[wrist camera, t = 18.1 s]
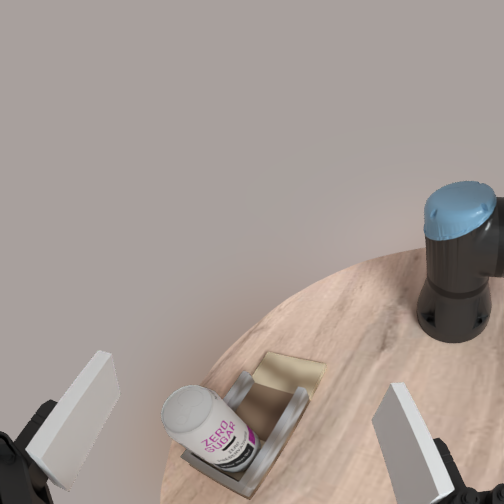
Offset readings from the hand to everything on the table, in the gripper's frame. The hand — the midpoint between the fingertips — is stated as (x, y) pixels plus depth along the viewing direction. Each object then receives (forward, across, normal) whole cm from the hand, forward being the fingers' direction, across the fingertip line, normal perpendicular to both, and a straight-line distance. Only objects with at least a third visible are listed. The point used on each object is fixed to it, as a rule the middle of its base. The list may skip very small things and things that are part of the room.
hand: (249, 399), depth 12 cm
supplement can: (+16, 0, -30) cm, 34 cm away
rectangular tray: (+22, +4, -28) cm, 36 cm away
